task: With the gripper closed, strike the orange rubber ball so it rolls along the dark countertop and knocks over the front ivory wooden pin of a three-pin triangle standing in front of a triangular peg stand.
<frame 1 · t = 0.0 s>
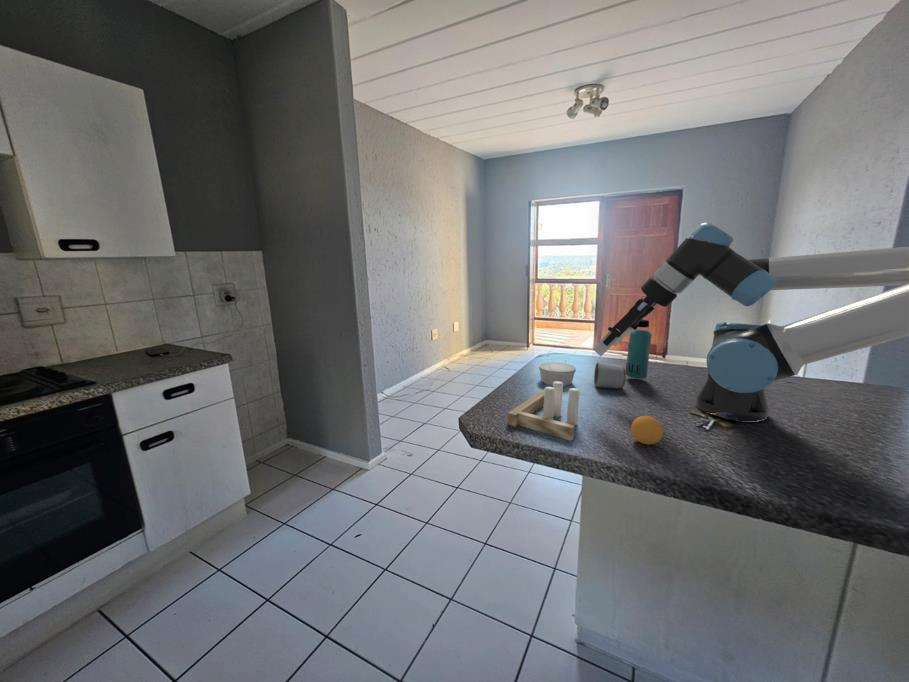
hand: (604, 347, 99), 15 cm above the worktop, tool tilted 35°, fingers open, 13 cm apart
ramekin: (556, 382, 118), on the worktop
left back pin: (548, 421, 89), on the worktop
ceramic mug: (606, 386, 115), on the worktop
front pin: (571, 423, 88), on the worktop
triangular peg stand: (530, 412, 95), on the worktop
ball: (646, 430, 78), on the worktop
beverage bottle: (635, 380, 119), on the worktop
right back pin: (556, 414, 93), on the worktop
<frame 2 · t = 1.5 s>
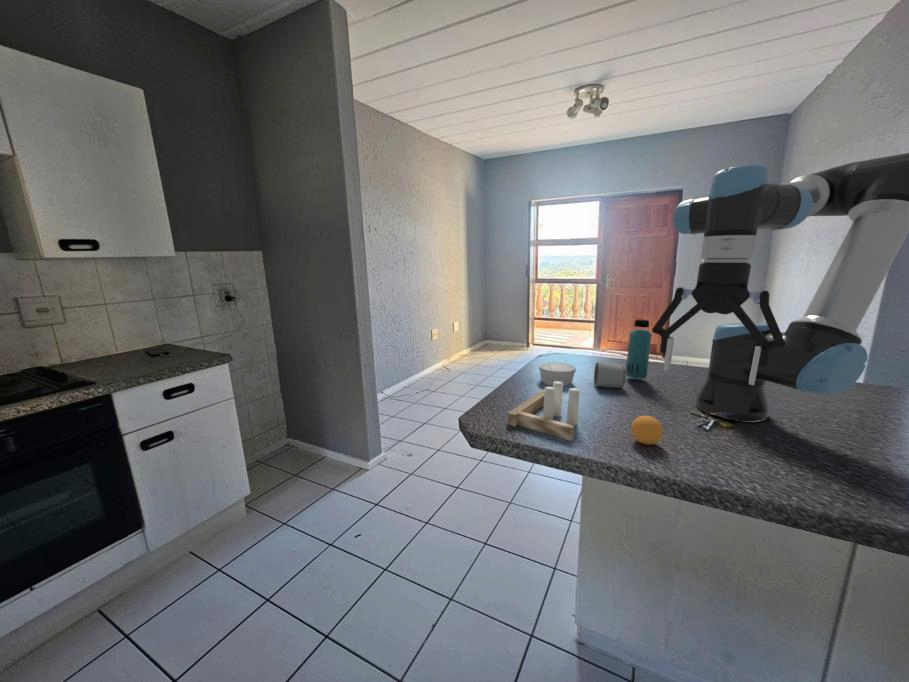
hand: (706, 375, 70), 17 cm above the worktop, tool pointing down, fingers open, 13 cm apart
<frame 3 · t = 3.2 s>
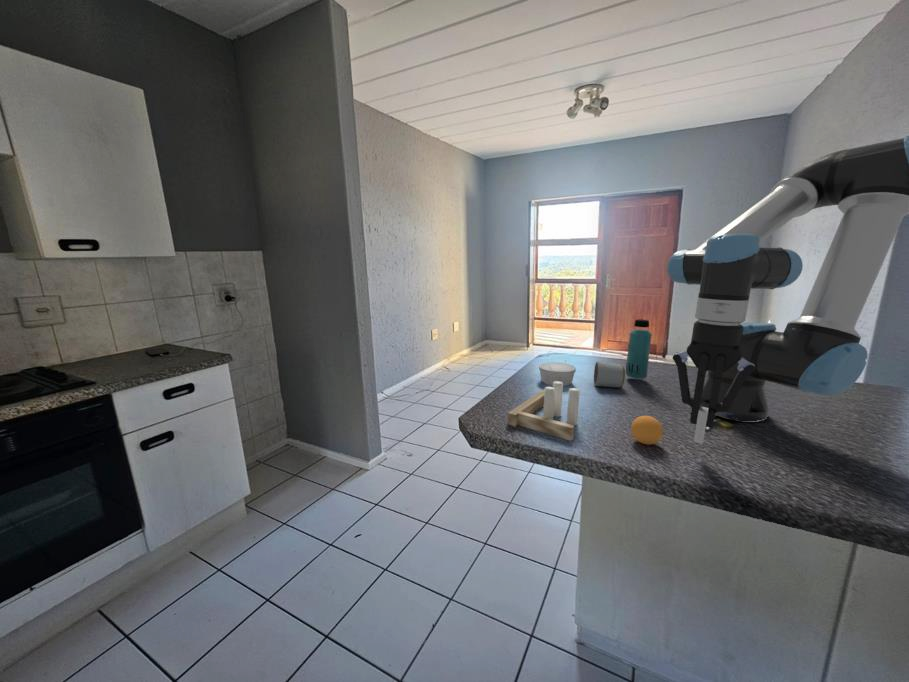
hand: (698, 440, 72), 4 cm above the worktop, tool pointing down, fingers closed
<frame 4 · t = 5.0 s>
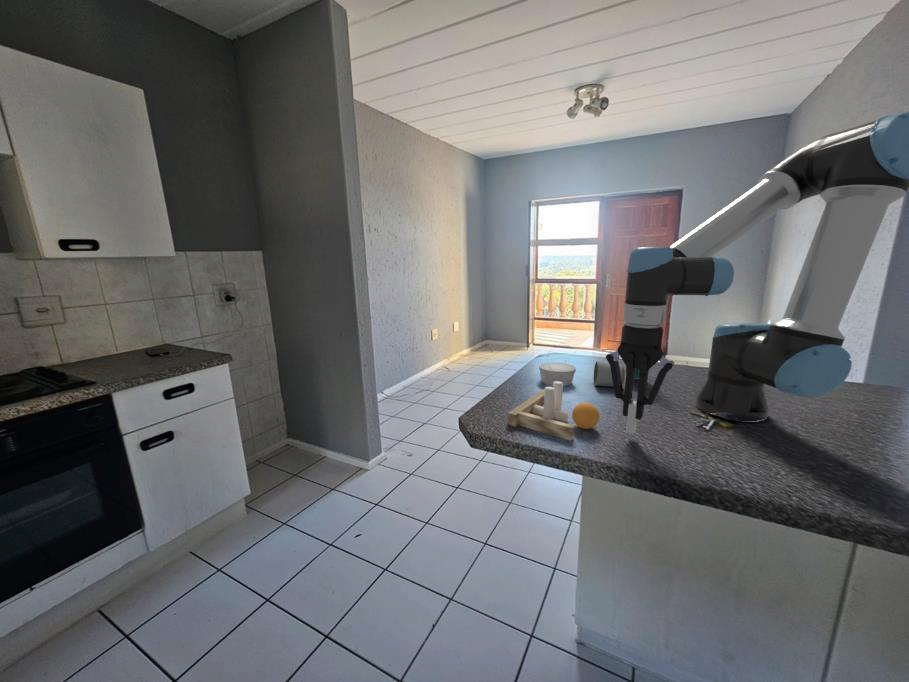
hand: (630, 430, 80), 2 cm above the worktop, tool pointing down, fingers closed
front pin: (566, 417, 89), point 1 cm above the worktop, tilted 90°
ball: (585, 415, 85), on the worktop
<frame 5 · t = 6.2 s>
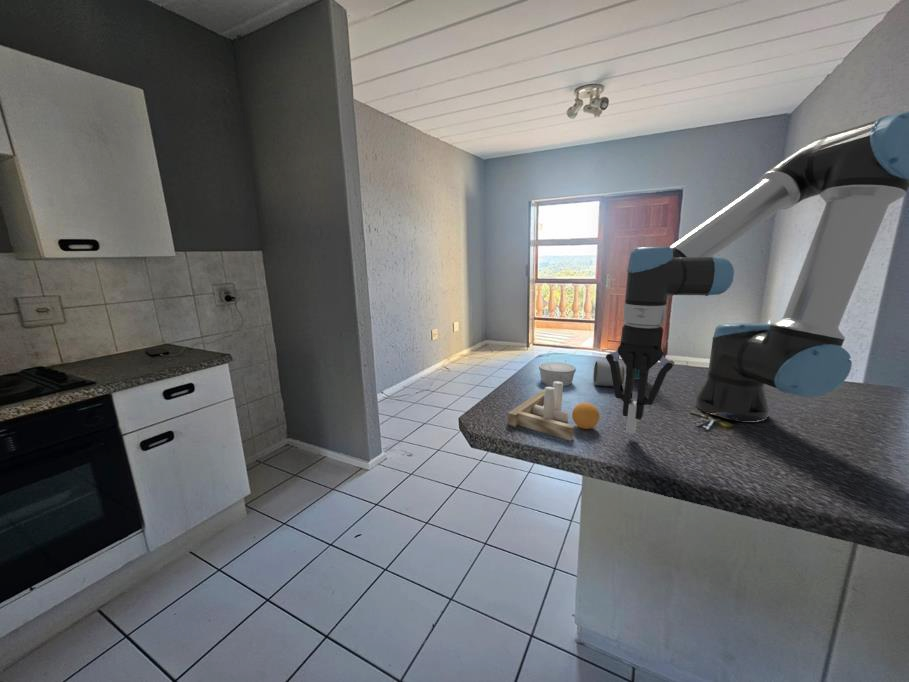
hand: (630, 430, 80), 2 cm above the worktop, tool pointing down, fingers closed
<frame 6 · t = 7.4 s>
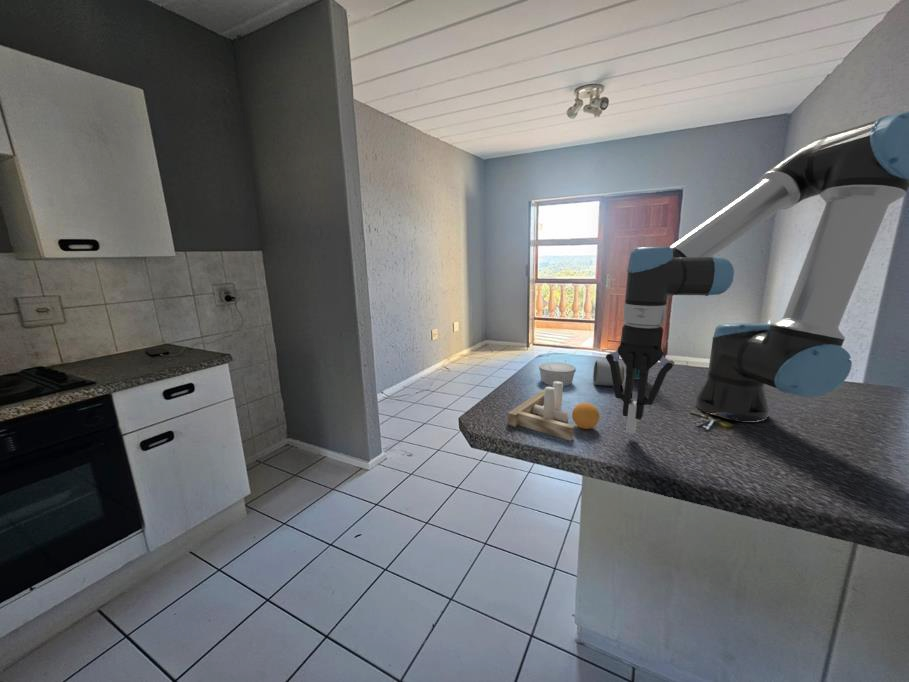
hand: (630, 430, 80), 2 cm above the worktop, tool pointing down, fingers closed
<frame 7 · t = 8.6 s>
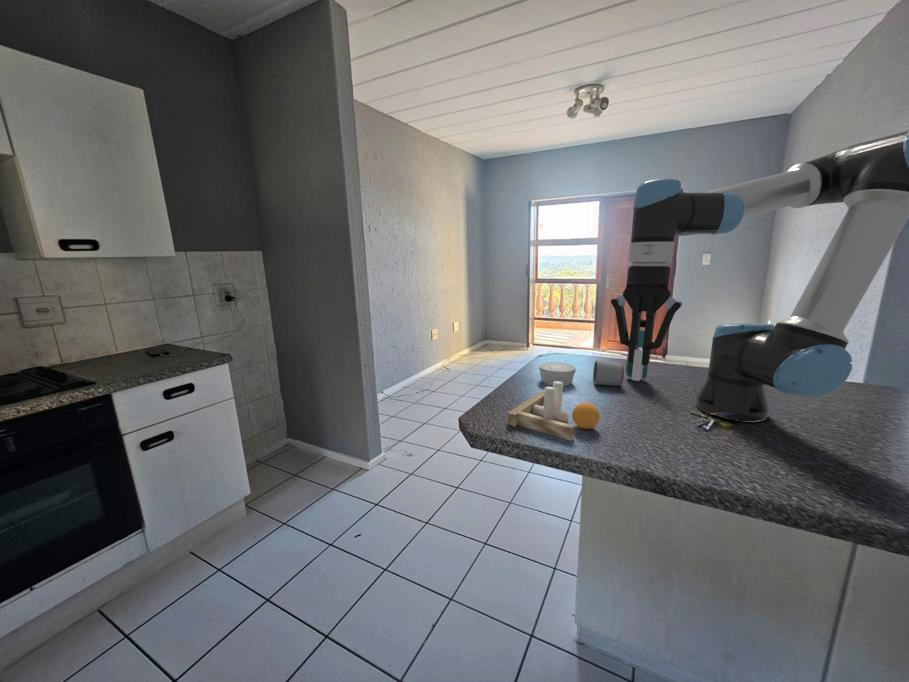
hand: (636, 378, 78), 14 cm above the worktop, tool pointing down, fingers closed
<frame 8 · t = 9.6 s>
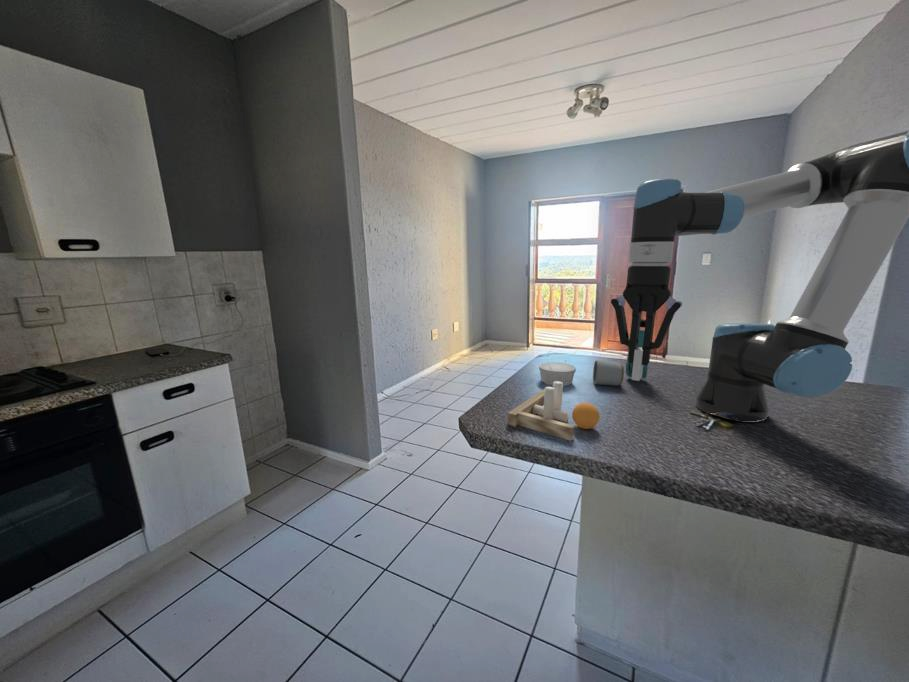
hand: (636, 378, 78), 14 cm above the worktop, tool pointing down, fingers closed
at the end: front pin tilted 90°; front pin never touched the robot; ball moved 12.8 cm from its start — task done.
